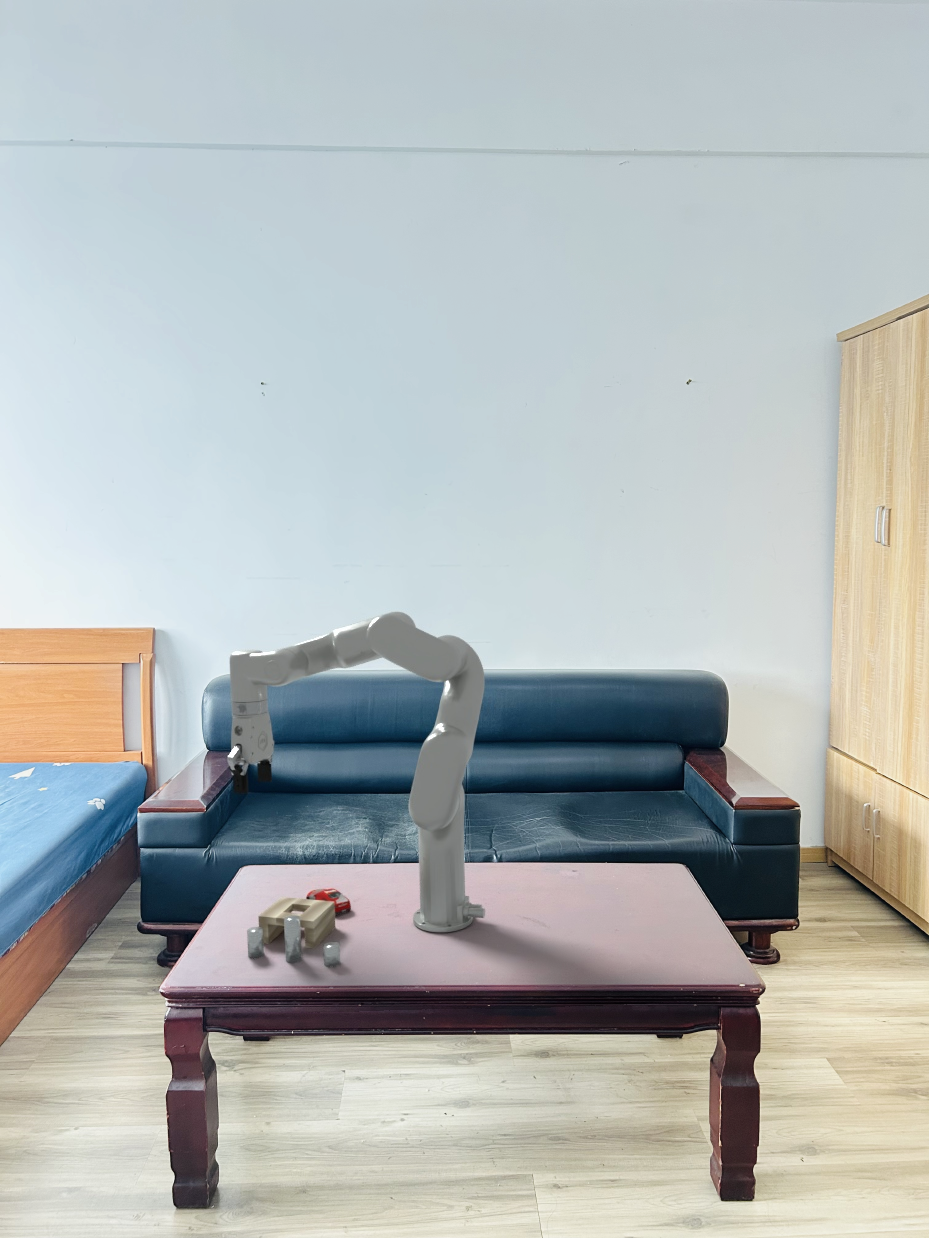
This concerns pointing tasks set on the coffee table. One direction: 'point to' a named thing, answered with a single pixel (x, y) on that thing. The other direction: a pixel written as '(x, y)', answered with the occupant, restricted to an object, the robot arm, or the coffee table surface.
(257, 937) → the medium pin
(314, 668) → the robot arm
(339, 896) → the race car
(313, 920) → the bridge
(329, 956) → the short pin
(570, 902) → the coffee table surface
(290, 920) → the long pin
